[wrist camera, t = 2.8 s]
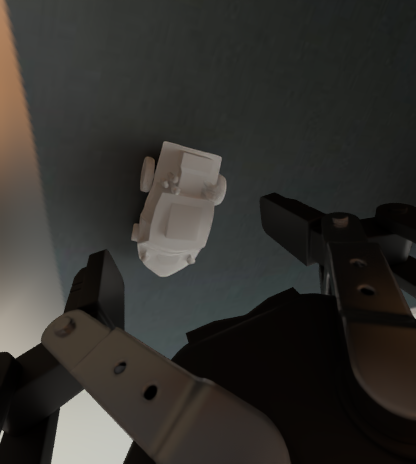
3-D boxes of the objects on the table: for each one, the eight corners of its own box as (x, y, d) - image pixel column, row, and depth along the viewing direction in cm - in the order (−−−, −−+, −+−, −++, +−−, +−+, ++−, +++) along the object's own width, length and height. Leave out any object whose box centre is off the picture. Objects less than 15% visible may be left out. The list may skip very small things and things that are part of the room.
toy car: (223, 155, 15) (255, 168, 11) (192, 262, 17) (210, 299, 14) (147, 133, 13) (156, 140, 9) (126, 257, 15) (127, 299, 12)
